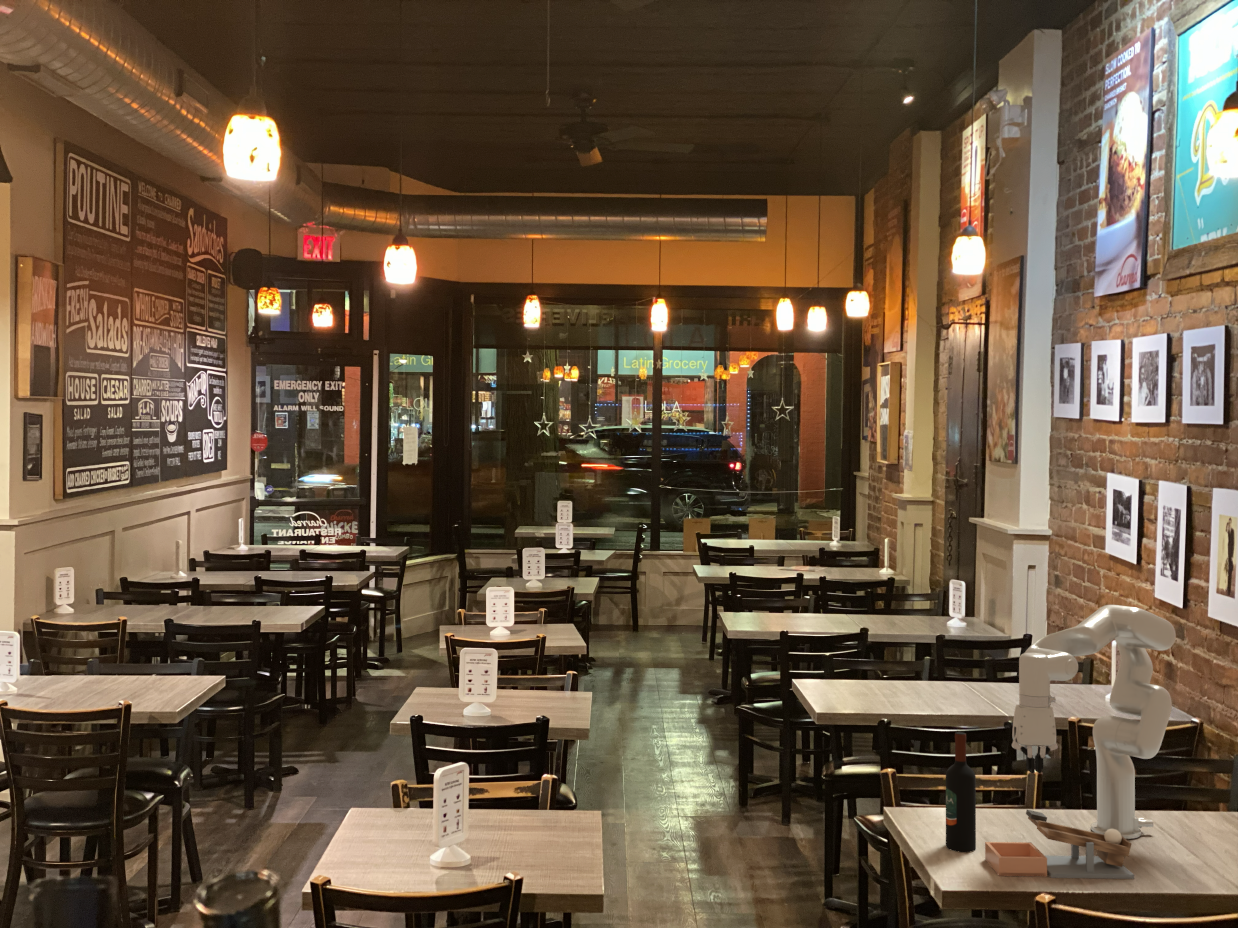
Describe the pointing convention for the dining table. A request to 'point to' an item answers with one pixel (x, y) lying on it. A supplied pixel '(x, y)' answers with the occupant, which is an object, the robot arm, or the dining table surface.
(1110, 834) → the ball
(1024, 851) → the pink hollow square tray
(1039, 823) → the lever
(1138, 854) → the dining table surface
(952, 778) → the wine bottle
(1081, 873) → the stand
